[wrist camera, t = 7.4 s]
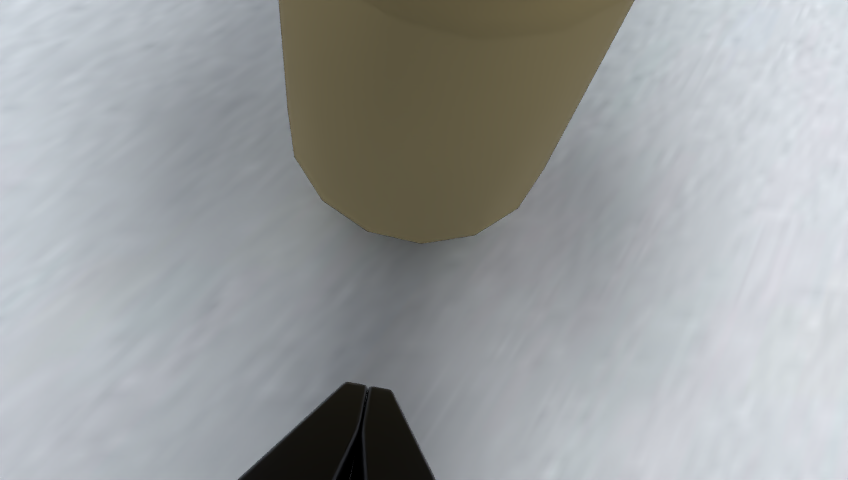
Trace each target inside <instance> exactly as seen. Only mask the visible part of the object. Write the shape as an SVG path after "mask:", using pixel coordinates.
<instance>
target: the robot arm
mask: <svg viewBox="0 0 848 480" xmlns="http://www.w3.org/2000/svg"><path fill="white" fill-rule="evenodd" d="M367 391H368V392H367ZM366 396H367V397H366ZM365 401H366V402H365ZM364 406H365V407H364ZM354 456H355V457H354ZM353 461H354V462H353ZM352 466H353V467H352ZM351 471H352V472H351ZM350 476H351V477H350ZM238 480H436V479H435V477H434V475H433V473H432V471H431V469H430V467H429V465H428V463H427V461H426V459H425V457H424V455H423V453H422V451H421V449H420V447H419V445H418V443H417V441H416V439H415V437H414V435H413V433H412V431H411V428H410V426H409V424H408V422H407V420H406V418H405V416H404V414H403V412H402V410H401V408H400V406H399V404H398V402H397V400H396V398H395V396H394V394H393V392H392V391H391V390H389V389H384V388H378V387H370V388H369V389H368V388H367V386H366V385H362V384H357V383H352V382H345V383H343V384H342V385H341V386H340V387H339V388H338V389H337V390H336V391H335V392H333V393H332V394H331V395H330V396H329V397H328V398H327V399H326V400H325V401H324V402H322V403H321V404H320V405H319V406H318V407H317V408H316V409H315V410H314V411H313V412H311V413H310V414H309V415H308V416H307V417H306V418H305V419H304V420H303V421H302V422H300V423H299V424H298V425H297V426H296V427H295V428H294V429H293V430H292V431H291V432H289V433H288V434H287V435H286V436H285V437H284V438H283V439H282V440H281V441H280V442H278V443H277V444H276V445H275V446H274V447H273V448H272V449H271V450H270V451H269V452H267V453H266V454H265V455H264V456H263V457H262V458H261V459H260V460H259V461H257V462H256V463H255V464H254V465H253V466H252V467H251V468H250V469H249V470H248V471H246V472H245V473H244V474H243V475H242V476H241V477H240V478H239V479H238Z"/></svg>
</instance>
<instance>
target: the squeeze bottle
mask: <svg viewBox="0 0 848 480" xmlns="http://www.w3.org/2000/svg"><path fill="white" fill-rule="evenodd" d="M633 2H634V0H279V11H280V23H281V35H282V47H283V59H284V71H285V83H286V96H287V108H288V115H289V122H290V129H291V136H292V143H293V151H294V157H295V158H296V160H297V162H298V163H299V165H300V166H301V168H302V169H303V171H304V172H305V174H306V176H307V177H308V179H309V180H310V182H311V183H312V185H313V187H314V188H315V190H316V191H317V193H318V194H319V196H320V198H321V199H322V200H323V201H324V202H325V203H327V204H328V205H330V206H331V207H333V208H334V209H336V210H337V211H339V212H340V213H341V214H343V215H344V216H346V217H347V218H349V219H350V220H352V221H353V222H355V223H356V224H357V225H359V226H360V227H362V228H363V229H365V230H366V231H368V232H372V233H377V234H381V235H386V236H390V237H394V238H399V239H403V240H408V241H412V242H416V243H421V244H423V243H429V242H435V241H442V240H448V239H454V238H460V237H467V236H473V235H476V234H478V233H479V232H481V231H482V230H484V229H486V228H487V227H489V226H490V225H492V224H494V223H495V222H497V221H498V220H500V219H502V218H503V217H505V216H506V215H508V214H510V213H511V212H513V211H514V210H516V209H518V207H519V206H520V204H521V203H522V201H523V200H524V198H525V197H526V195H527V194H528V192H529V191H530V189H531V188H532V186H533V185H534V183H535V182H536V180H537V179H538V177H539V176H540V174H541V172H542V171H543V169H544V168H545V166H546V164H547V162H548V160H549V158H550V157H551V155H552V153H553V151H554V149H555V147H556V145H557V144H558V142H559V140H560V138H561V136H562V134H563V132H564V131H565V129H566V127H567V125H568V123H569V121H570V119H571V118H572V116H573V114H574V112H575V110H576V108H577V106H578V105H579V103H580V101H581V99H582V97H583V95H584V93H585V92H586V90H587V88H588V86H589V84H590V82H591V80H592V78H593V77H594V75H595V73H596V71H597V69H598V67H599V65H600V64H601V62H602V60H603V58H604V56H605V54H606V52H607V51H608V49H609V47H610V45H611V43H612V41H613V39H614V38H615V36H616V34H617V32H618V30H619V28H620V26H621V25H622V23H623V21H624V19H625V17H626V15H627V13H628V12H629V10H630V8H631V6H632V4H633Z"/></svg>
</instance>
